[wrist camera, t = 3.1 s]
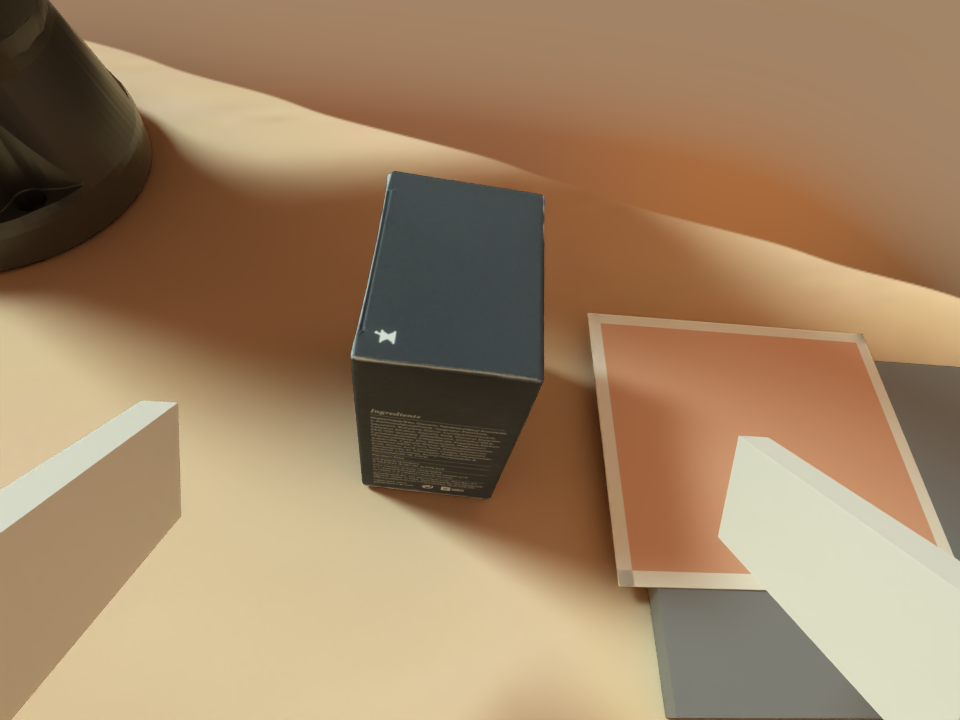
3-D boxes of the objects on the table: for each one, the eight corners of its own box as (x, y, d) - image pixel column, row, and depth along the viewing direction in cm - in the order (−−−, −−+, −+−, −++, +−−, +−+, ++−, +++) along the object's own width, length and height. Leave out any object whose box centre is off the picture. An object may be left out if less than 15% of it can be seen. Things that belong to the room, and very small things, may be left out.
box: (492, 502, 25) (547, 384, 16) (360, 487, 25) (341, 358, 16) (501, 349, 29) (548, 188, 20) (388, 335, 29) (385, 164, 20)
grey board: (581, 325, 31) (605, 276, 27) (1016, 358, 33) (1087, 317, 30) (624, 717, 21) (667, 718, 18) (1220, 719, 24) (1355, 720, 21)
